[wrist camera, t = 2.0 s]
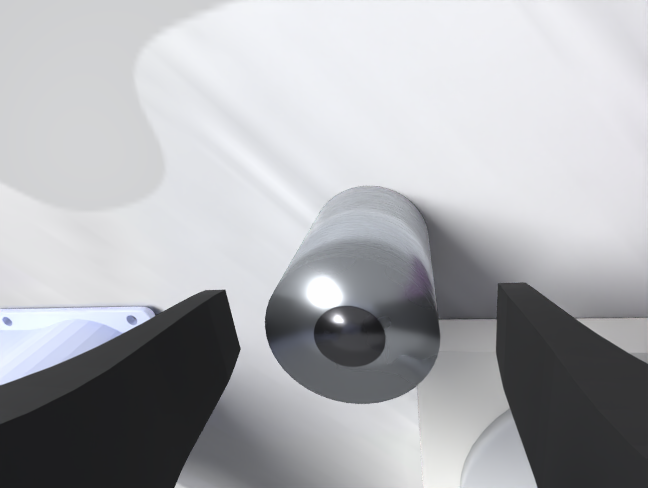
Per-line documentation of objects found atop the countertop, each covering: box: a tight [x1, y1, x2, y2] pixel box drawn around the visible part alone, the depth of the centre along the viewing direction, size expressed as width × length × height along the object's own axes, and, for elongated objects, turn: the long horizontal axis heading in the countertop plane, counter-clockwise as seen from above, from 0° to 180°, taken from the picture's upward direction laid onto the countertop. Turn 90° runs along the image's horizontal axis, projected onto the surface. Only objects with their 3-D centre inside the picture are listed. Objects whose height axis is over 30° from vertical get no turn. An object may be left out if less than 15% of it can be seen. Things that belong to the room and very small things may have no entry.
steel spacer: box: [265, 186, 440, 404], centre depth 13 cm, size 4×4×6 cm
